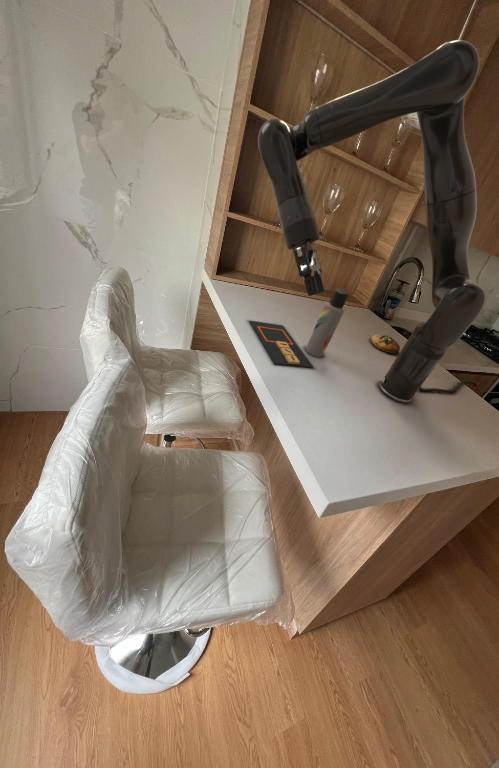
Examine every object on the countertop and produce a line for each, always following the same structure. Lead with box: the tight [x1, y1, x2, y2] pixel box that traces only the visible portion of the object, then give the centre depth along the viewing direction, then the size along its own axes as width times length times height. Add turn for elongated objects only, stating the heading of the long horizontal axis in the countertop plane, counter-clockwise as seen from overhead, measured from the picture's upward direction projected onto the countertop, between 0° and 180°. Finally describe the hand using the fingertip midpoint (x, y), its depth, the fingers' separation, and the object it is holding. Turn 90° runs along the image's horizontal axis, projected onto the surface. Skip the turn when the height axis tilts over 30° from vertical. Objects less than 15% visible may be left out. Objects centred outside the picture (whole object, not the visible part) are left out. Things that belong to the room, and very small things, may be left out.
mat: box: [249, 320, 314, 369], centre depth 97 cm, size 24×12×1 cm, turn 17°
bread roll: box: [370, 333, 401, 354], centre depth 121 cm, size 11×11×5 cm
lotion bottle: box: [305, 287, 350, 358], centre depth 95 cm, size 6×6×20 cm
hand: (317, 293), depth 77 cm, fingers open, 8 cm apart
